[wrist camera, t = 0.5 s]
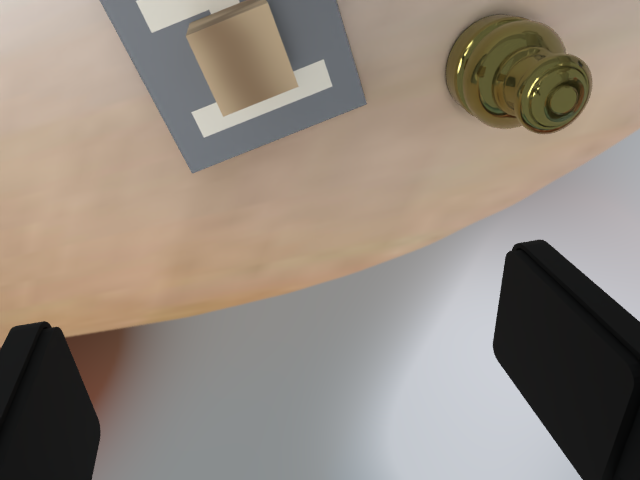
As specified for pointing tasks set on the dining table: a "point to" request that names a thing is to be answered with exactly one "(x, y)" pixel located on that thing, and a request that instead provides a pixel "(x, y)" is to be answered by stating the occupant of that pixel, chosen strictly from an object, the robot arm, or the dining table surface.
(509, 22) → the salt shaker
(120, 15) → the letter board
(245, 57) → the oak block
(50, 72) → the dining table surface
